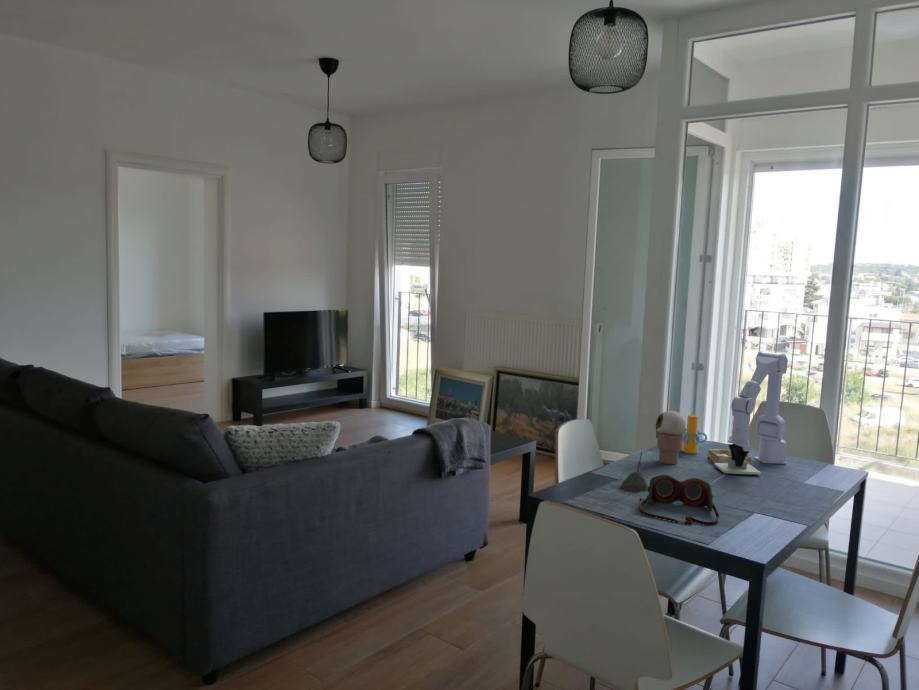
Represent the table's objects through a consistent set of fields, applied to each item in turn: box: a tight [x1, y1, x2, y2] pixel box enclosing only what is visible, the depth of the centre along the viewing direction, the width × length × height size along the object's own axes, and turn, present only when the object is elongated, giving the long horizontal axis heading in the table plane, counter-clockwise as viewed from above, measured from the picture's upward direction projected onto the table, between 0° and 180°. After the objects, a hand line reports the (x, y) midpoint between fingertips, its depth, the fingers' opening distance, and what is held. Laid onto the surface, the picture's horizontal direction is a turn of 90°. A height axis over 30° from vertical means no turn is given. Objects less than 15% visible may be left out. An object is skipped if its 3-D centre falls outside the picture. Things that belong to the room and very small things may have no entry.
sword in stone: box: [619, 451, 649, 493], centre depth 238 cm, size 10×8×12 cm
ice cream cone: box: [655, 410, 687, 465], centre depth 272 cm, size 11×11×20 cm
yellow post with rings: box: [681, 414, 708, 454], centre depth 289 cm, size 12×10×15 cm
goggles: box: [637, 474, 720, 526], centre depth 218 cm, size 24×24×10 cm
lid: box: [713, 460, 762, 476], centre depth 264 cm, size 13×10×4 cm
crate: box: [707, 448, 752, 466], centre depth 277 cm, size 13×10×4 cm
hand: (737, 465), depth 264 cm, fingers closed on lid, 2 cm apart
